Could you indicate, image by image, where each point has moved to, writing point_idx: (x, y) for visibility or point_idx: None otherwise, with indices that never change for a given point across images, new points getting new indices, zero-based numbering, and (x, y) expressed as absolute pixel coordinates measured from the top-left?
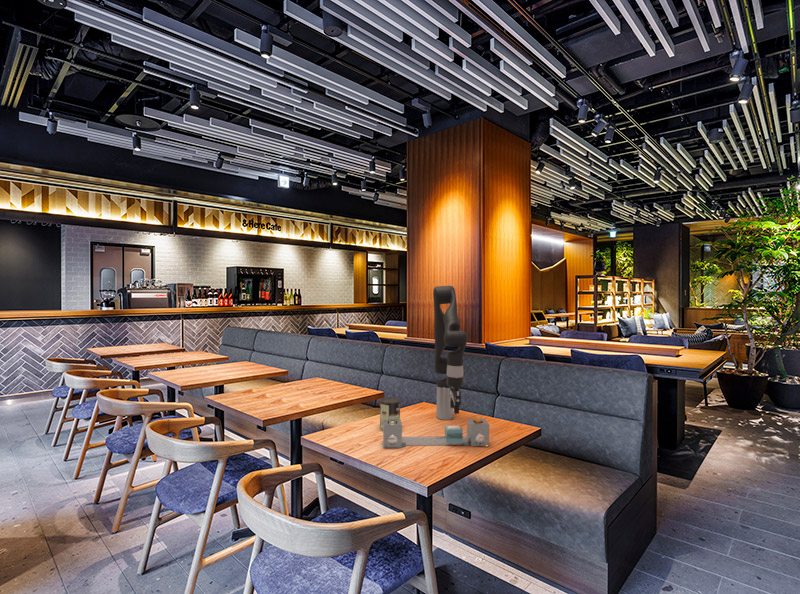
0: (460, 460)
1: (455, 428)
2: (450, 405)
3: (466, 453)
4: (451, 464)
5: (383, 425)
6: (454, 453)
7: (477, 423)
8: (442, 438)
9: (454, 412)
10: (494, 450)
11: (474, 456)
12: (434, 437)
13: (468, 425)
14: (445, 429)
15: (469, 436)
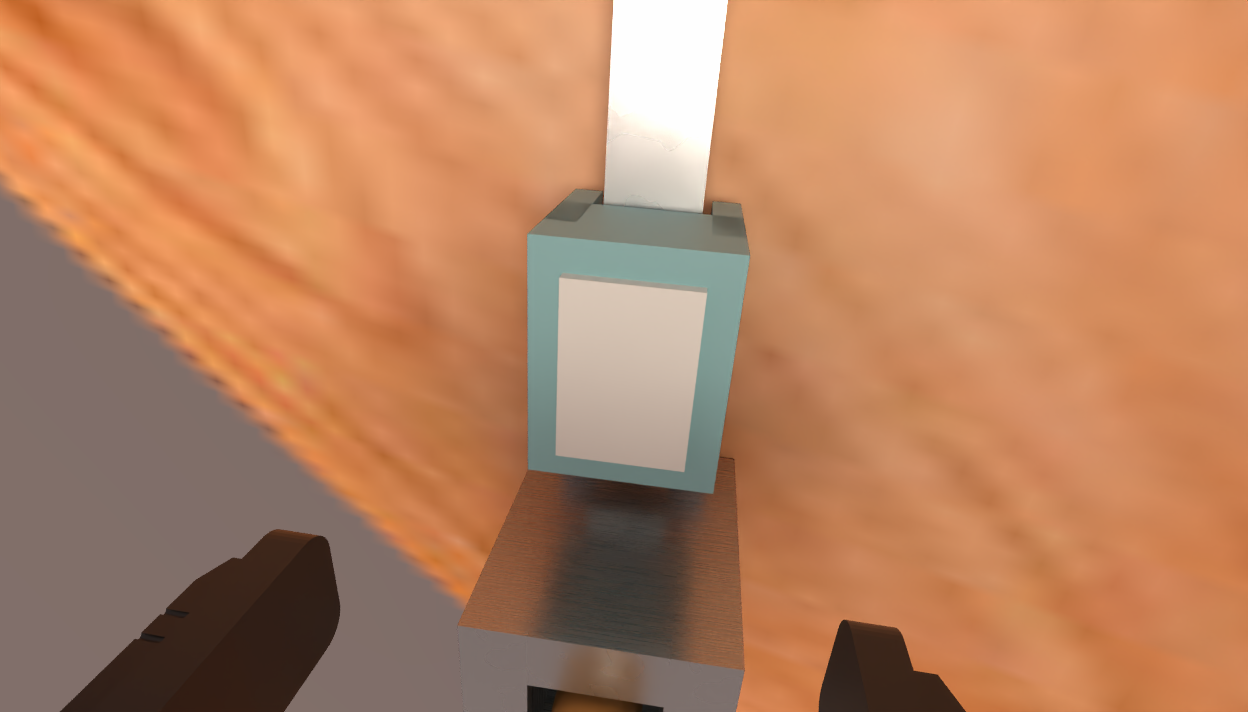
0: (175, 213)
1: (556, 383)
2: (876, 676)
3: (366, 332)
4: (49, 81)
5: None
6: (356, 206)
7: (500, 704)
8: (608, 138)
9: (260, 543)
10: (453, 580)
11: (298, 378)
12: (668, 8)
13: (659, 594)
14: (705, 237)
15: (610, 496)
